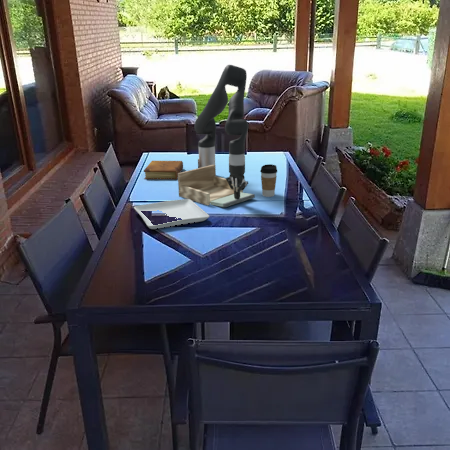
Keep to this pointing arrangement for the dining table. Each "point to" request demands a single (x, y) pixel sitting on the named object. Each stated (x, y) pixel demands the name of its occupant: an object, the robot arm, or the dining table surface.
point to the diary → (163, 169)
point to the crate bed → (203, 185)
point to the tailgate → (232, 200)
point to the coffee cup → (268, 179)
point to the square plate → (174, 212)
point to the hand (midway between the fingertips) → (237, 198)
